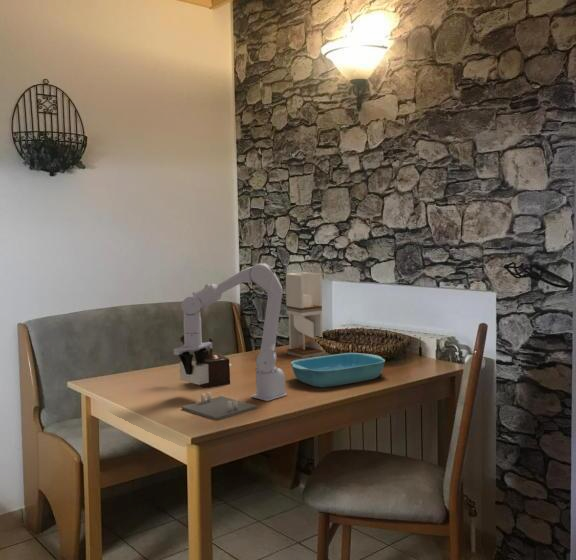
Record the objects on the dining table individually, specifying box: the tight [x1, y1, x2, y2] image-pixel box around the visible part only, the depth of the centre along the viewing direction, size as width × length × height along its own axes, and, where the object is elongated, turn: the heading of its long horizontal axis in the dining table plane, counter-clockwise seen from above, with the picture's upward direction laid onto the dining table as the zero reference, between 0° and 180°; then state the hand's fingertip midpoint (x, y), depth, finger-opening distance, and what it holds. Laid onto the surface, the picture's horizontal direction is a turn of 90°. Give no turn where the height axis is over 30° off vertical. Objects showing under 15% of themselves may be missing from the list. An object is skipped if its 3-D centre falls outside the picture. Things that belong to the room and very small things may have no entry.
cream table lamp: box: [285, 271, 324, 359], centre depth 277 cm, size 11×11×35 cm
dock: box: [181, 391, 258, 421], centre depth 199 cm, size 16×17×4 cm
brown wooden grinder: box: [179, 334, 231, 389], centre depth 230 cm, size 16×11×18 cm
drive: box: [179, 360, 209, 386], centre depth 212 cm, size 4×10×6 cm, turn 46°
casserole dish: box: [290, 352, 386, 388], centre depth 234 cm, size 37×22×7 cm, turn 122°
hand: (194, 372), depth 212 cm, fingers closed on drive, 4 cm apart
